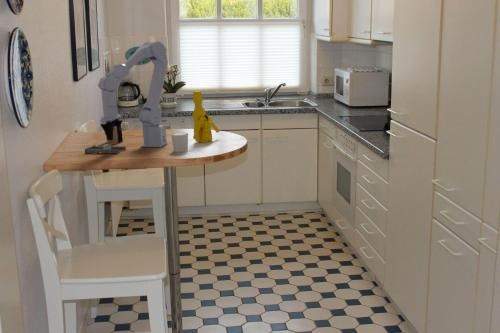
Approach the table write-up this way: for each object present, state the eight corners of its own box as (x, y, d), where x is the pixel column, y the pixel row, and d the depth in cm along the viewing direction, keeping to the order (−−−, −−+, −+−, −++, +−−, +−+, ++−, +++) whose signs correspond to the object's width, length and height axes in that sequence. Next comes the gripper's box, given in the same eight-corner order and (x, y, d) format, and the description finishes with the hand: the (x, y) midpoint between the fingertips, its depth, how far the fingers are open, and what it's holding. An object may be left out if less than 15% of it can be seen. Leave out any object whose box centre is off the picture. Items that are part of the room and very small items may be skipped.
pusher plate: (111, 150, 266) (110, 143, 265) (105, 152, 261) (104, 145, 260) (110, 150, 266) (109, 143, 265) (103, 152, 261) (103, 145, 260)
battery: (115, 143, 282) (113, 121, 280) (106, 142, 287) (104, 120, 284) (123, 141, 285) (121, 119, 283) (114, 140, 290) (112, 118, 288)
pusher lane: (126, 150, 265) (125, 145, 265) (117, 153, 258) (117, 149, 257) (94, 149, 269) (93, 145, 269) (85, 153, 262) (84, 148, 261)
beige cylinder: (182, 152, 254) (181, 135, 253) (169, 151, 258) (167, 134, 256) (192, 149, 260) (191, 132, 258) (179, 148, 263) (178, 131, 262)
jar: (120, 142, 263) (118, 125, 261) (114, 144, 259) (113, 127, 257) (111, 142, 264) (109, 125, 263) (105, 144, 260) (103, 127, 259)
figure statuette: (197, 145, 267) (194, 93, 263) (183, 144, 272) (180, 93, 267) (223, 138, 281) (220, 89, 277) (209, 137, 286) (206, 88, 281)
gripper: (109, 103, 266) (112, 135, 269) (92, 108, 253) (95, 142, 255) (124, 103, 264) (127, 135, 267) (108, 108, 251) (111, 142, 254)
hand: (112, 138), depth 261 cm, fingers closed on jar, 4 cm apart
